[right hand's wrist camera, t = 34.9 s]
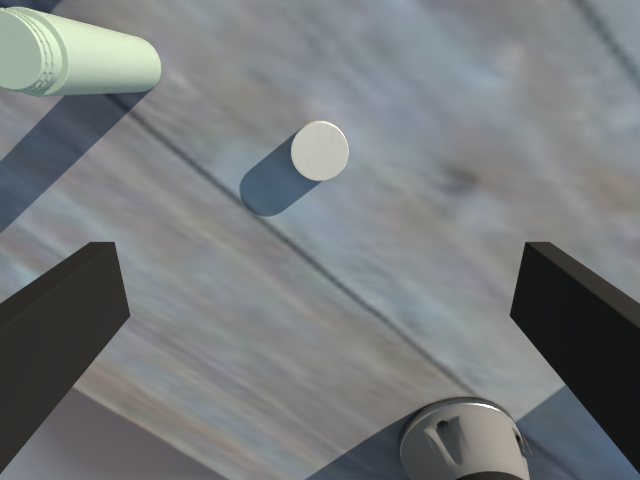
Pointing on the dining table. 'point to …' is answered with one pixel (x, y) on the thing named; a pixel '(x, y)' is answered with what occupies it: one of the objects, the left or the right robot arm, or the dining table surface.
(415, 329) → the dining table surface
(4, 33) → the pale green cylinder
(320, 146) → the lid
